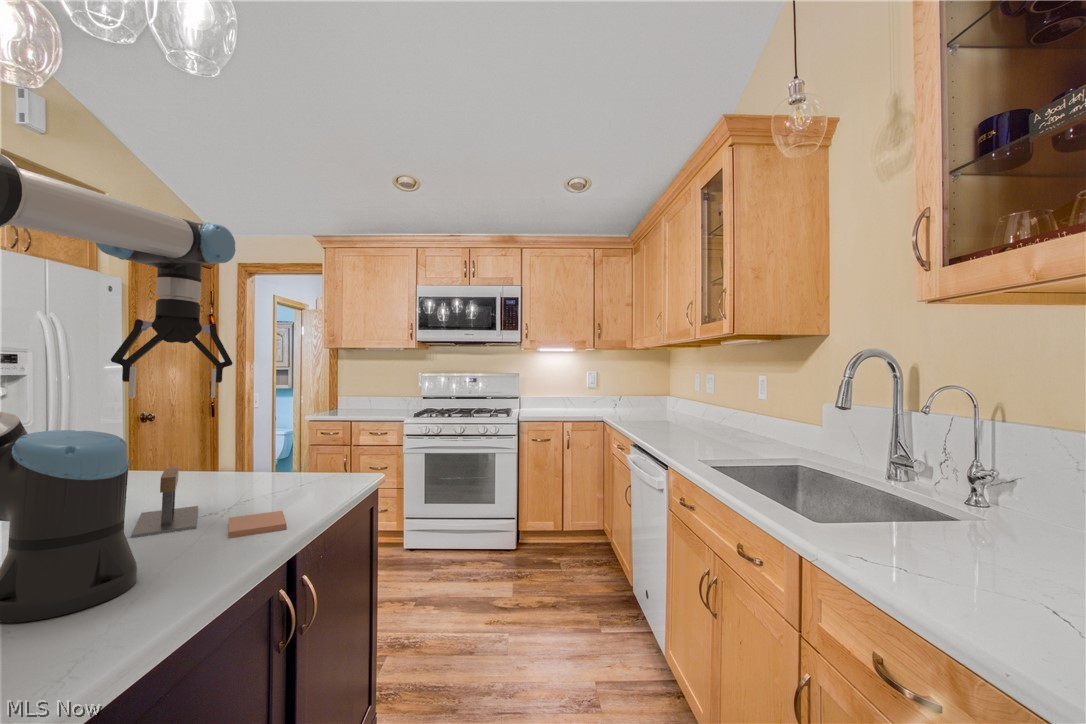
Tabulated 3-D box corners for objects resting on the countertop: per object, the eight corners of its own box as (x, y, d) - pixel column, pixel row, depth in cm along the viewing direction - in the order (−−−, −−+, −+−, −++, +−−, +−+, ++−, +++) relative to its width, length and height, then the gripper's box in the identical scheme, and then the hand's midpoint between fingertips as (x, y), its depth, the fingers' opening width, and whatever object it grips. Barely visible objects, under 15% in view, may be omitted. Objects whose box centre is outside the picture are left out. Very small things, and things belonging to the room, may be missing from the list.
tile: (282, 518, 102) (286, 531, 94) (228, 525, 97) (228, 540, 88) (282, 510, 102) (286, 523, 94) (228, 517, 97) (228, 532, 88)
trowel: (195, 529, 93) (198, 477, 93) (131, 539, 87) (133, 483, 87) (197, 509, 106) (200, 463, 106) (141, 516, 100) (143, 467, 100)
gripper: (246, 308, 108) (242, 396, 107) (103, 295, 93) (98, 397, 93) (248, 304, 102) (243, 398, 101) (95, 290, 87) (89, 399, 87)
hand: (174, 397), depth 97 cm, fingers open, 13 cm apart
